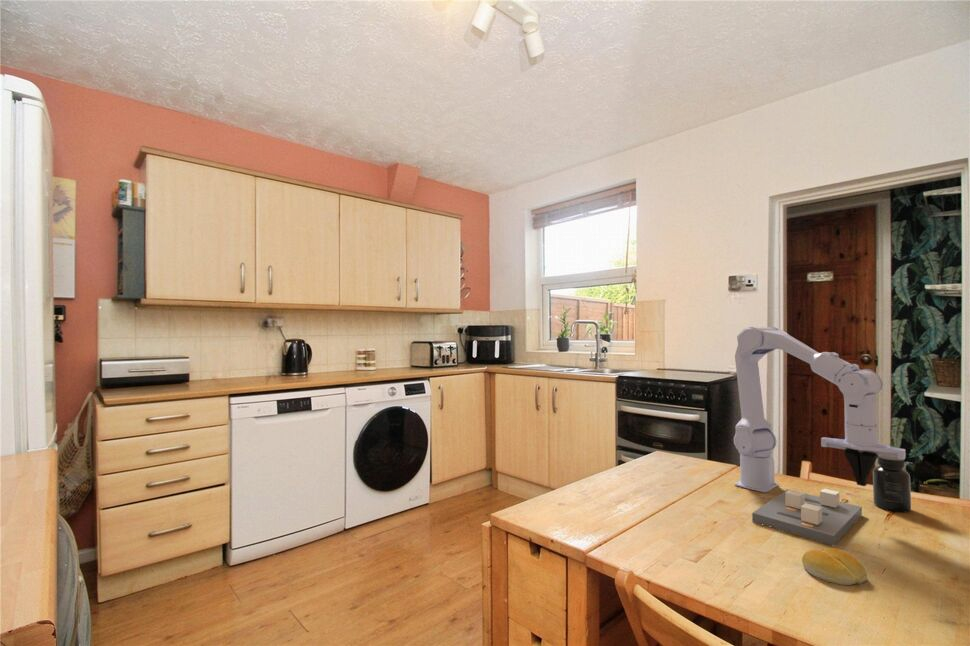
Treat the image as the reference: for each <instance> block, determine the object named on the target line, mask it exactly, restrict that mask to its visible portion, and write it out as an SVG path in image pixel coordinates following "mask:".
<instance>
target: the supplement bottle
mask: <svg viewBox="0 0 970 646" xmlns="http://www.w3.org/2000/svg"><path fill="white" fill-rule="evenodd" d="M876 461H877V462H876V463H877V466H875V467H874V468H873V469H872V489H873V490H872V492H873V495H872V496H873V504H874V505H875V506H877V507H878V508H880V509H882V508H883V510H886V511H891V512H895V511H896V512H895V513H907V512H908V513H909V512H910V511H911V510H912V494H911V476H910V473H909V472H908V471H907V470H905V469H904V468H905V459H904V460H901V459H897V458H894V457H887V456H881V455H879V456H878V458H877V460H876Z"/></svg>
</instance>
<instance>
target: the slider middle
mask: <svg viewBox="0 0 970 646" xmlns="http://www.w3.org/2000/svg"><path fill="white" fill-rule="evenodd" d="M805 494H806V493H805V492H802V491H798V490H794V489H788V491H787V492H785V505H786V506H790V507H794V508H798V509H801V506H802V505H804V504H805Z"/></svg>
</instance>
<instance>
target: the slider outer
mask: <svg viewBox="0 0 970 646" xmlns="http://www.w3.org/2000/svg"><path fill="white" fill-rule="evenodd" d="M801 521H805V522H808V523H812V524H816V525H819V524H820V523H821V522H822V507H819V506H815V505H811V504H807V503H805V504H804V505H802V506H801Z"/></svg>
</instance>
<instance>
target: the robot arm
mask: <svg viewBox="0 0 970 646" xmlns="http://www.w3.org/2000/svg"><path fill="white" fill-rule="evenodd" d="M736 339H737V347H736V350H735V354H734V361H735V362H734V363H735V368H736V369H735V370H736V371H735V372H736V378H737V379H736V380H737V388H738V396H739V406H740V407H739V408H740V416H741V419H740V420H738V422H737V424H736V425H734V426H735V434H734V436H733V444H734V447H735V449H736V450H737V451H738V454H739V464H740V466H739V467H740V471H739V473H740V475H739V476H740V480H738V481H736V482H735V483H734V486H737V487H741V488H744V489H749V490H753V491H757V492H760V493H768V492H770V491H771V490H773V489H775V488H776V487H777V486H779V483H777V482H775V479H776V478H775V460H774V458H773V456H772V451H773V450H774V449H775V447H776V446H777V438H776V436H775V433H774V432H773V429H772V425H771V423H770V422H769V421H768V420H767V419H766V418H765V413H764V411H765V410H764V405H763V404H764V403H763V394H762V387H761V384H762V383H761V378H760V377H761V376H760V368H759V361H760V360H761V359H763V357H764V356H765V355H766V354H768V353H771V352H773V351H774V350H782V351H783V352H786V353H788V354H789V355H790V356H793V357H795V358H797V359H799V360H801V361H803V362H804V363H805V362H806V363H807V364H809V365H810V369H811V371H812V372H813V373H815V374H817V375H819V376H820V377H822V378H823V379H825V380H827V381H829V382H831V383H832V384H834V385H835V386H837V387H838V390H839V391H840V392H841V393H842V395H843V401H844V438H843V439H842V438H832V437H826V436H825V437H821V438H820V443H821V444H820V447H822V448H832V449H839V450H845V451H844V456H845V458H846V460H847V462H848V464H849V465H850V467H851V469H852V471H853V472H852V473H853V475H854V477H855V481H856V482H855V483H856V485H857V486H862V487H866V486H867V485H868V479H869V476H870V473H871V470H872V468H873V466H874V464H875V462H876V461H877V460H878V456H887V457H894V458H897V459H901V460H904V461H905V459H906V449H905V448H898V447H894V446H889V445H885V444H884V445H883V444H879V441H878V440H879V439H878V437H879V435H878V433H879V431H878V430H879V429H878V427H879V426H878V425H879V424H878V423H879V422H878V421H879V420H878V394H879V393H880V392H881V391H882V388H883V385H884V384H883V380H882V378H881V377H880V375H879V374H877V373H876V372H875V371H874V370H872V369H868V368H867V369H860V365H858V364H856V363H850V362H849V361H846V360H844V359H842V358H841V357H839V356H840V354H838V353H836V352H834V351H832V352H829V351H823V352H819V351H816V350H815V349H813V348H811V347H810V346H808V345H807V344H806V343H803V342H802V341H800V340H798V339H796V338H795V337H793V336H792V335H790V334H789V333H787V332H786V331H784V330H782V329H781V330H780V329H779V328H778V327H775V326H767V327H766V326H765V327H764V326H763V327H762V326H761V327H759V326H758V327H757V326H755V327H754V326H748V327H744V328H743V329H742V330H741V331H740V333H739V334H737V335H736Z"/></svg>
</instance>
